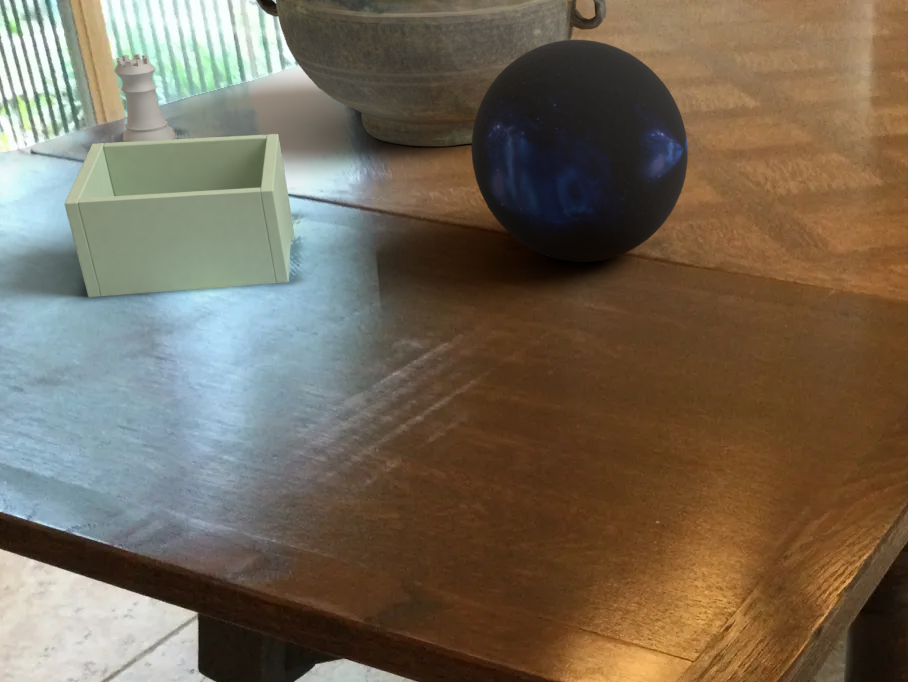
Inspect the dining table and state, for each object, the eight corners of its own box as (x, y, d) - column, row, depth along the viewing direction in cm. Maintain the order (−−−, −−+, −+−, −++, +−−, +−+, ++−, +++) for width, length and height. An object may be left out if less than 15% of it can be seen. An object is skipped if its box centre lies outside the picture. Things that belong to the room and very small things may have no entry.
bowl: (213, 156, 116) (178, -29, 108) (329, 78, 138) (307, -80, 130) (577, 179, 113) (569, -10, 105) (637, 96, 135) (634, -66, 126)
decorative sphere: (459, 290, 93) (438, 66, 85) (504, 215, 105) (489, 14, 97) (677, 299, 92) (676, 75, 84) (695, 223, 105) (697, 21, 96)
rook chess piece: (118, 150, 117) (96, 55, 113) (170, 141, 120) (150, 48, 115) (135, 163, 114) (113, 67, 110) (187, 154, 117) (168, 59, 112)
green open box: (92, 315, 88) (63, 203, 84) (116, 246, 99) (91, 143, 94) (291, 300, 91) (273, 190, 87) (294, 234, 101) (278, 133, 97)
